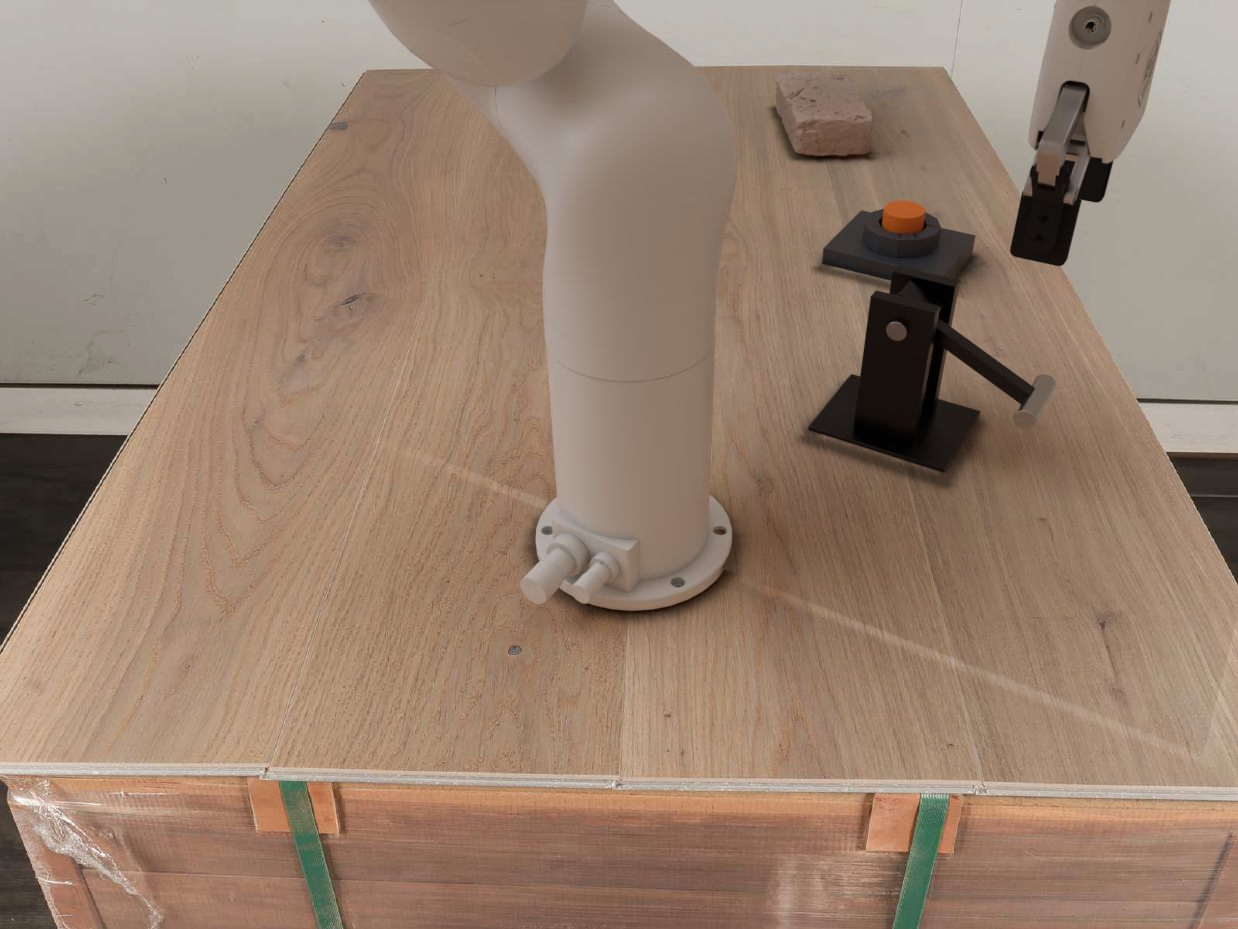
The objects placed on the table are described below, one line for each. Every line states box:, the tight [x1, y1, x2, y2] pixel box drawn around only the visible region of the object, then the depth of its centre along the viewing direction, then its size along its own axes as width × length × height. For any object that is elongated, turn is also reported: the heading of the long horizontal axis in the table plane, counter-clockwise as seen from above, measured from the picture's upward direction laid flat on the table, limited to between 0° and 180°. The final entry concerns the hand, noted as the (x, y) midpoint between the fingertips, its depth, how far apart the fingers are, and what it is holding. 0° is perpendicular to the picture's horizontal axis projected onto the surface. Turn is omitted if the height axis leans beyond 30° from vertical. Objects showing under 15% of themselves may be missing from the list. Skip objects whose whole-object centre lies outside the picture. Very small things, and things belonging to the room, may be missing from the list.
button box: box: [821, 208, 976, 282], centre depth 100 cm, size 11×9×4 cm
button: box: [882, 200, 927, 234], centre depth 99 cm, size 4×4×2 cm
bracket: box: [807, 266, 981, 473], centre depth 78 cm, size 10×8×12 cm
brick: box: [775, 70, 874, 157], centre depth 126 cm, size 17×8×5 cm, turn 2°
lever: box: [898, 281, 1057, 430], centre depth 74 cm, size 12×5×2 cm, turn 58°
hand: (1058, 226), depth 69 cm, fingers open, 9 cm apart
